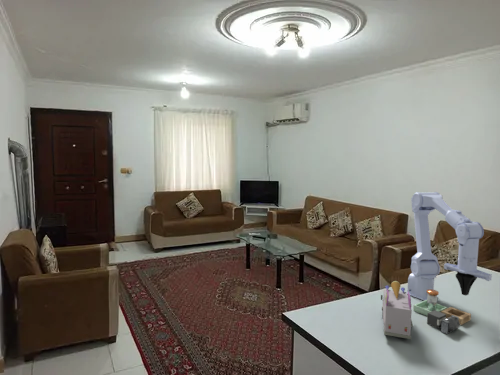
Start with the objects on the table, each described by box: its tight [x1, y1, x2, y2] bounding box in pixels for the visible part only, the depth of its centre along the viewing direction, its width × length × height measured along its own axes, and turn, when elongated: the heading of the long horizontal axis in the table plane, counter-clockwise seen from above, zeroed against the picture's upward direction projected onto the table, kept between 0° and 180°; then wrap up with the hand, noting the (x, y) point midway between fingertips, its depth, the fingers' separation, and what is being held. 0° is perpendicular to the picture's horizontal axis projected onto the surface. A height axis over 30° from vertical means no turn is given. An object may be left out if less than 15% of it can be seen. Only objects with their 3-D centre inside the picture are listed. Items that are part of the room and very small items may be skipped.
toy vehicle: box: [380, 280, 414, 340], centre depth 115 cm, size 9×20×15 cm, turn 161°
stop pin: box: [427, 289, 440, 311], centre depth 128 cm, size 4×4×8 cm
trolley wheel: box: [440, 315, 461, 335], centre depth 115 cm, size 4×7×4 cm, turn 124°
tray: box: [412, 300, 448, 317], centre depth 128 cm, size 8×9×2 cm
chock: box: [426, 310, 446, 329], centre depth 119 cm, size 4×4×4 cm
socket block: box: [441, 306, 472, 326], centre depth 123 cm, size 7×7×2 cm
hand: (465, 294), depth 119 cm, fingers closed
